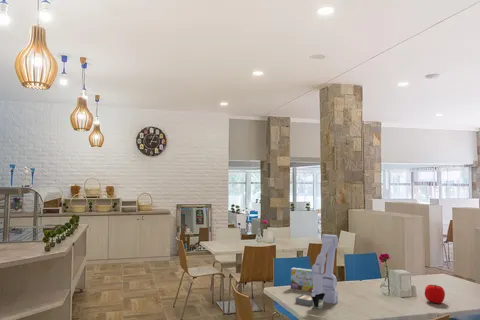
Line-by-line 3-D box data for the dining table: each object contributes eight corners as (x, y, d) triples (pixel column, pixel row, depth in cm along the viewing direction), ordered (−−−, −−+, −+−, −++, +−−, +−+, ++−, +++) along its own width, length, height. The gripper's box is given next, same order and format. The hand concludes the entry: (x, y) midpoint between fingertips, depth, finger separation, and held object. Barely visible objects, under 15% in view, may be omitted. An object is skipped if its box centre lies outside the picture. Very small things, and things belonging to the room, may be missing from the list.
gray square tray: (318, 303, 263) (318, 296, 263) (311, 307, 254) (311, 300, 254) (303, 300, 269) (303, 294, 269) (295, 304, 260) (295, 297, 261)
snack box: (290, 289, 299) (290, 268, 300) (293, 287, 304) (293, 267, 305) (318, 292, 289) (318, 271, 290) (320, 290, 294) (320, 270, 295)
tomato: (434, 305, 259) (433, 287, 260) (419, 300, 272) (419, 282, 273) (449, 304, 262) (449, 286, 263) (434, 298, 275) (434, 281, 276)
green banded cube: (323, 308, 252) (323, 299, 252) (319, 309, 248) (319, 301, 248) (316, 306, 255) (316, 298, 255) (312, 308, 251) (312, 300, 251)
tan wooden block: (315, 302, 262) (315, 297, 263) (310, 305, 256) (310, 300, 256) (304, 299, 267) (304, 295, 268) (298, 302, 261) (298, 297, 261)
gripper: (317, 280, 261) (317, 302, 260) (306, 285, 249) (306, 307, 248) (327, 282, 257) (327, 304, 256) (317, 286, 245) (317, 309, 244)
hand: (318, 305), depth 252 cm, fingers closed on green banded cube, 5 cm apart
